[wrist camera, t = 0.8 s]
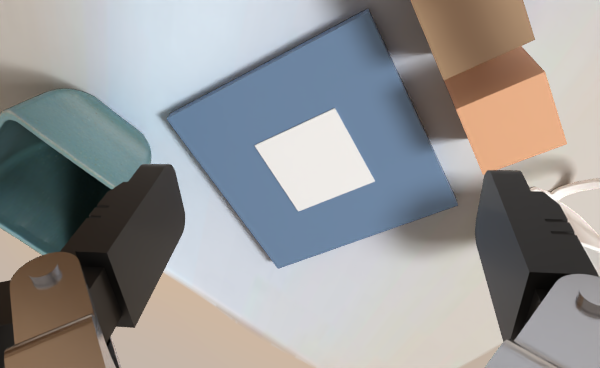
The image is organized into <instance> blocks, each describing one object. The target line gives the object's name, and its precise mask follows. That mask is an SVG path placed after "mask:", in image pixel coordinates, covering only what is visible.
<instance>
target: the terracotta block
mask: <svg viewBox="0 0 600 368" xmlns="http://www.w3.org/2000/svg"><path fill="white" fill-rule="evenodd" d="M444 82H445V84H446V87H447V89H448V91H449V94H450V96H451V99H452V101H453V104H454V106H455V109H456V111H457V113H458V116H459V118H460V121H461V123H462V125H463V128H464V130H465V133H466V135H467V137H468V140H469V142H470V145H471V147H472V149H473V152H474V154H475V157H476V159H477V161H478V164H479V166H480V169H481V171H482V173H483V175H484V174H485V173H486V171H487V170H498V169H500V168H503V167H506V166H508V165H511V164H514V163H517V162H519V161H522V160H525V159H528V158H530V157H533V156H536V155H538V154H541V153H544V152H547V151H549V150H552V149H555V148H558V147H560V146H563V145H566V144H567V142H566V139H565V136H564V132H563V129H562V126H561V123H560V119H559V116H558V113H557V110H556V106H555V103H554V100H553V96H552V93H551V90H550V87H549V83H548V80H547V77H546V74H545V71H544V70H543V69H542V68H541V67H540V66H539V65H538V64H537V63H536V62H535V61H534V59H533V58H532V57H531V56H530V55H529V54H528V53H527V52H526V51H525V50H524V49H523V48H522V47H521V46H520V47H517V48H515V49H513V50H511V51H509V52H506V53H504V54H502V55H500V56H497V57H495V58H493V59H491V60H488V61H486V62H484V63H482V64H479V65H477V66H475V67H473V68H471V69H468V70H466V71H464V72H462V73H459V74H457V75H455V76H453V77H450V78H448V79H446V80H444Z"/></svg>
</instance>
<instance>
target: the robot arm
mask: <svg viewBox="0 0 600 368" xmlns="http://www.w3.org/2000/svg"><path fill="white" fill-rule="evenodd" d="M184 226H185V212H184V207H183V203H182V199H181V194H180V190H179V186H178V182H177V177H176V173H175V170H174V168H173V166H172V165H170V164H142V165H141V166H140V167H139V168H138V169H137V170H136V172H135V173H134V174H133V176H132V177H131V178H130V180H129V181H128V182H122V183H121V184H119V185H118V186H116V187H115V188H113V189H112V190H110V191H109V192H107V193H106V195H105V196H104V197H103V198H102V200H101V201H100V202H99V203H98V205H97V208H94V210H93V211H92V212H91V213H90V215H89V218H86V220H85V221H84V222H83V223H82V225H81V226H80V227H79V228H78V230H77V231H76V232H75V233H74V235H73V236H72V237H71V238H70V240H69V241H68V242H67V243H66V244H65V246H64V247H63V248H62V249H61V251H60V252H53V253H48V254H45V255H42V256H39V257H37V258H35V259H33V260H31V261H29V262H27V263H26V264H25V265H23V266H22V267H21V268H19V269H18V270H17V271H16V273H15V274H14V275H13V277H12V278H11V280H10V281H5V282H0V368H121V366H120V363H119V360H118V356H117V353H116V350H115V346H114V343H113V341H112V339H111V334H112V333H113V331H114V329H115V327H116V326H118V327H133V328H135V326H136V324H137V322H138V320H139V318H140V316H141V314H142V312H143V310H144V308H145V306H146V304H147V302H148V300H149V298H150V296H151V294H152V292H153V290H154V289H155V287H156V285H157V283H158V281H159V279H160V277H161V275H162V273H163V271H164V269H165V267H166V265H167V263H168V261H169V259H170V257H171V255H172V253H173V251H174V249H175V247H176V245H177V243H178V241H179V239H180V237H181V236H182V233H183V230H184ZM475 236H476V244H477V248H478V252H479V256H480V259H481V263H482V266H483V270H484V274H485V277H486V281H487V284H488V288H489V292H490V295H491V299H492V302H493V306H494V310H495V313H496V317H497V320H498V324H499V328H500V331H501V335H502V338H503V343H502V344H501V346H500V347H499V348H498V350H497V351H496V353H495V354H494V355H493V357H492V358H491V359H490V361H489V362H488V363H487V365H486V366H485V368H600V277H599V275H598V273H597V271H596V269H595V268H594V266H593V264H592V262H591V260H590V259H589V257H588V255H587V253H586V251H585V250H584V248H583V246H582V244H581V242H580V241H579V239H578V237H577V235H575V234H574V230H573V228H572V226H571V224H570V223H569V222H568V219H567V217H566V215H565V214H564V212H563V210H562V208H561V206H560V205H559V204H558V203H557V202H556V201H554V200H553V199H552V198H551V197H549V196H548V195H547V194H546V193H544V192H543V191H531V190H530V188H529V186H528V184H527V182H526V180H525V178H524V176H523V174H522V172H521V171H511V170H487V171H486V173H485V176H484V180H483V185H482V191H481V196H480V202H479V207H478V212H477V218H476V226H475Z"/></svg>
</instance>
